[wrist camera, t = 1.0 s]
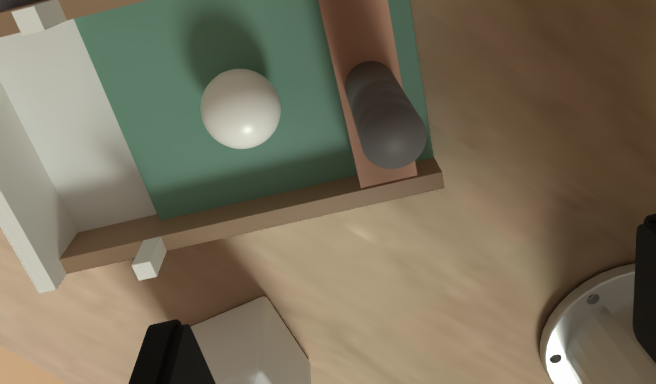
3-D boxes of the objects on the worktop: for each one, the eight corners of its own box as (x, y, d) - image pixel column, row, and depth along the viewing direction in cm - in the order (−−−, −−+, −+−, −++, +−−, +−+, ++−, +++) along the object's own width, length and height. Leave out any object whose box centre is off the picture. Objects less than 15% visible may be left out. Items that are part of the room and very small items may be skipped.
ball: (270, 52, 28) (266, 71, 25) (289, 123, 30) (289, 151, 27) (196, 70, 29) (182, 92, 25) (220, 140, 30) (210, 169, 27)
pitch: (390, -90, 27) (414, -92, 22) (430, 162, 33) (456, 209, 28) (-45, 22, 28) (-124, 46, 23) (72, 245, 35) (31, 305, 29)
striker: (372, -42, 26) (412, -21, 17) (407, 152, 31) (452, 247, 22) (312, -26, 27) (320, 2, 18) (355, 165, 31) (379, 263, 22)
